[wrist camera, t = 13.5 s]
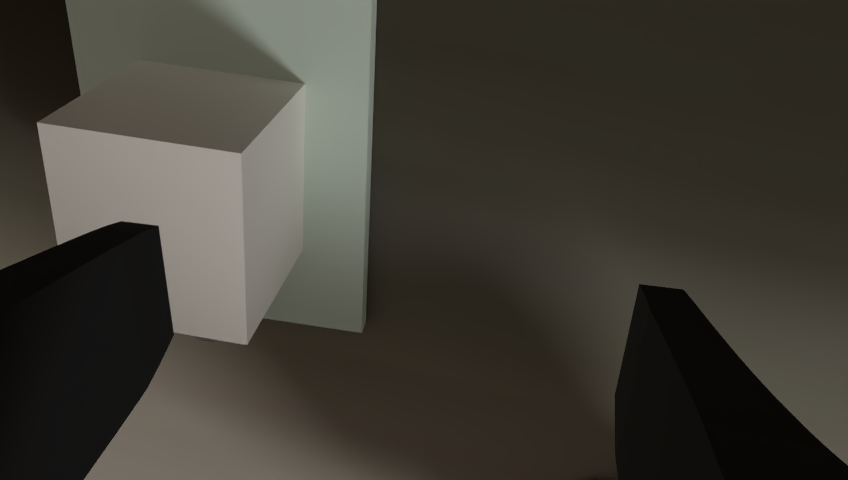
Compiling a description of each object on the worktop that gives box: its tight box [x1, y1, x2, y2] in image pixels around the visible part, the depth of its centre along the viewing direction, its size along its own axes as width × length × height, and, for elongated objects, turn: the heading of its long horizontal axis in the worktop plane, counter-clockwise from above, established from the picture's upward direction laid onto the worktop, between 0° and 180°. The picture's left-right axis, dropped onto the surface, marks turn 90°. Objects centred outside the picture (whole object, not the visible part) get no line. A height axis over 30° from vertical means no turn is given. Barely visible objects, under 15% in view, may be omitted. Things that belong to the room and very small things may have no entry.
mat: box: [65, 0, 377, 333], centre depth 22 cm, size 10×8×1 cm
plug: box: [37, 60, 305, 345], centre depth 20 cm, size 7×4×5 cm, turn 175°
